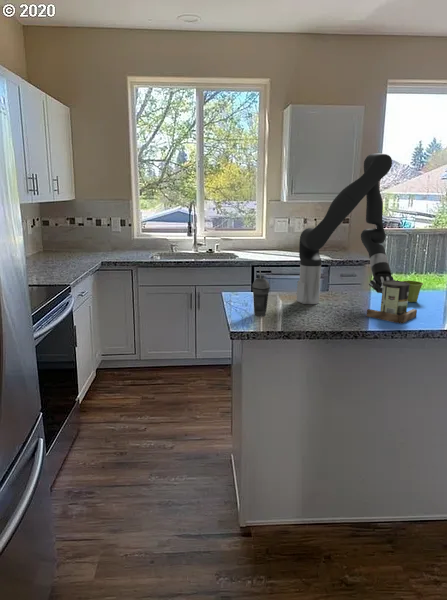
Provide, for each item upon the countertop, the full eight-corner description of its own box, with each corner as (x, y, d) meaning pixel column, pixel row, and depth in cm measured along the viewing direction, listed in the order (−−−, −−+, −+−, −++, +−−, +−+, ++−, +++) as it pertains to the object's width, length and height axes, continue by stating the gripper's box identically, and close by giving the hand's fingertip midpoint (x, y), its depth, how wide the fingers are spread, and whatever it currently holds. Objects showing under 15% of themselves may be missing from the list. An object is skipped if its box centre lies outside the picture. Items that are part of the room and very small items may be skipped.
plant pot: (418, 304, 205) (421, 285, 202) (397, 301, 209) (399, 283, 207) (422, 300, 212) (424, 282, 210) (401, 297, 217) (403, 279, 215)
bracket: (365, 315, 187) (366, 308, 186) (415, 315, 187) (415, 308, 187) (374, 323, 176) (375, 316, 175) (427, 323, 177) (428, 316, 176)
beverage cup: (257, 318, 181) (258, 269, 176) (247, 313, 188) (249, 265, 182) (272, 316, 185) (274, 267, 180) (262, 311, 191) (264, 264, 186)
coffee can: (403, 313, 190) (406, 280, 186) (408, 320, 180) (412, 286, 176) (377, 312, 191) (380, 279, 188) (381, 319, 181) (385, 285, 178)
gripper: (367, 261, 195) (375, 296, 186) (398, 261, 195) (407, 296, 187) (362, 271, 201) (369, 305, 193) (391, 271, 202) (400, 305, 193)
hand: (388, 300), depth 190 cm, fingers closed
